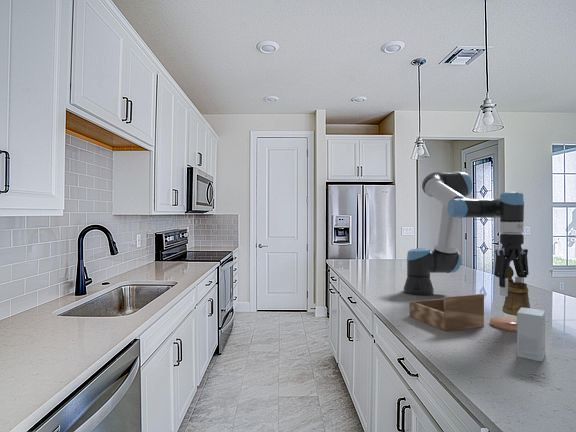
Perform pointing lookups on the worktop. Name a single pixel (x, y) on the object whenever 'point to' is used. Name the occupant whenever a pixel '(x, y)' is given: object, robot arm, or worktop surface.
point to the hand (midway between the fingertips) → (511, 295)
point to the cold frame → (450, 312)
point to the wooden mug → (515, 295)
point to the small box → (531, 334)
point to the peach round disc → (504, 323)
